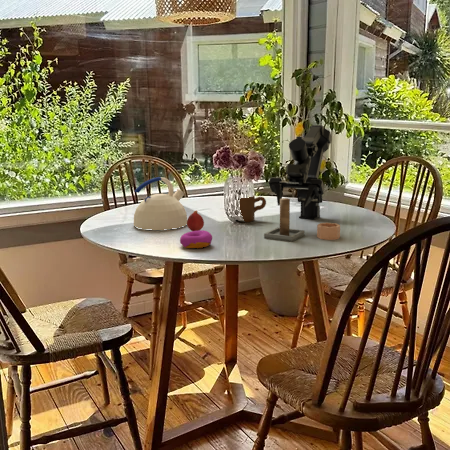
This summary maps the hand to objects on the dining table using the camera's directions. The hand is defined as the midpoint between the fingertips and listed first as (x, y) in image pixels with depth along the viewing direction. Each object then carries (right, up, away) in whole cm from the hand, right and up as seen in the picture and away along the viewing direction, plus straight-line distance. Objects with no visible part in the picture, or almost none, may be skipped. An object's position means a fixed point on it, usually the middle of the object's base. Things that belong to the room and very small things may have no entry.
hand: (291, 205), depth 179 cm
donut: (-32, -14, -13) cm, 37 cm away
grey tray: (-3, -11, -5) cm, 12 cm away
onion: (-33, -10, +3) cm, 34 cm away
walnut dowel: (-3, -10, -5) cm, 12 cm away
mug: (-13, -5, +22) cm, 26 cm away
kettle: (-46, -7, +17) cm, 50 cm away
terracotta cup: (+11, -11, -7) cm, 17 cm away
